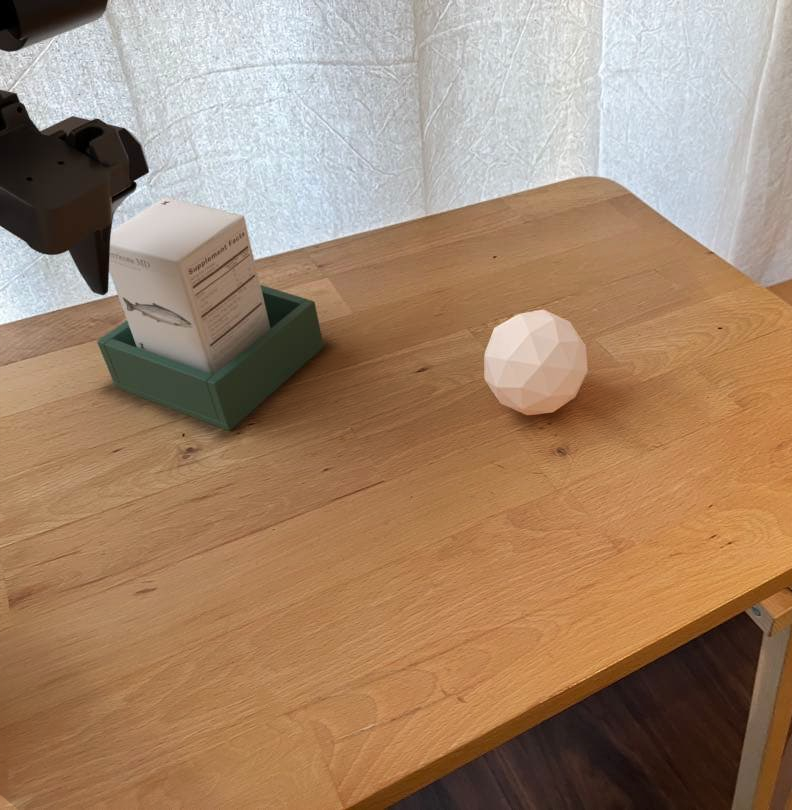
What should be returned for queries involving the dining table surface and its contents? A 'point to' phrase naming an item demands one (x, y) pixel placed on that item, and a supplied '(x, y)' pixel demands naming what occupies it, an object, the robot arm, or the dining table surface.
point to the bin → (237, 381)
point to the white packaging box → (188, 283)
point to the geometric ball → (535, 362)
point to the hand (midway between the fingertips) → (44, 330)
